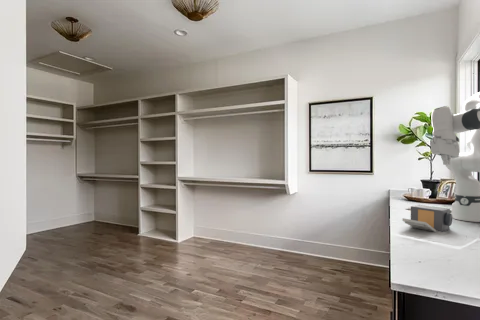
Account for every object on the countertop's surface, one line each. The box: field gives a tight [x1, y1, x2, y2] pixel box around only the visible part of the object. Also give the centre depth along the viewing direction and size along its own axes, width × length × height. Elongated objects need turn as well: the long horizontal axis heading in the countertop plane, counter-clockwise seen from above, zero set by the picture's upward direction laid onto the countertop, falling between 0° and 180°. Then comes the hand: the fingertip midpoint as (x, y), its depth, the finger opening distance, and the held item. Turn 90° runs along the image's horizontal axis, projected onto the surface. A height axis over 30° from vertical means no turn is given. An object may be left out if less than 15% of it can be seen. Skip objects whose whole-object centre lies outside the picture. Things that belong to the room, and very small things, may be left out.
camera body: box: [410, 204, 453, 233], centre depth 143 cm, size 9×16×11 cm, turn 36°
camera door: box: [401, 218, 438, 233], centre depth 137 cm, size 2×10×14 cm
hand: (446, 164), depth 142 cm, fingers closed
